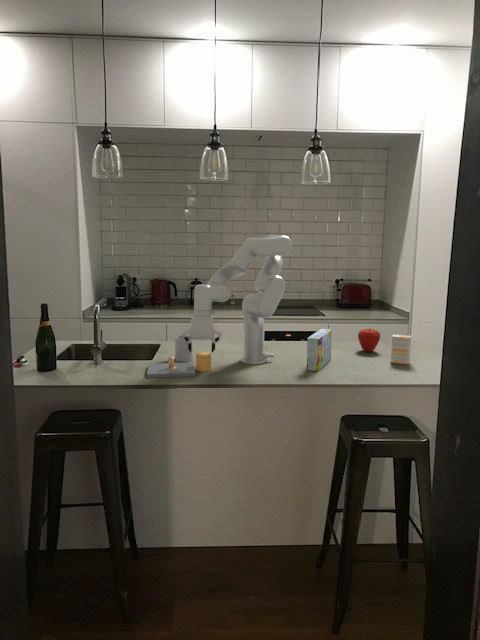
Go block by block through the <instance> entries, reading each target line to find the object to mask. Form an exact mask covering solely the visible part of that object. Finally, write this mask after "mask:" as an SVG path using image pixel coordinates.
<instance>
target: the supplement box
mask: <svg viewBox="0 0 480 640" xmlns="http://www.w3.org/2000/svg"><path fill="white" fill-rule="evenodd" d="M411 342H412V335H405V334H404V335H403V334H397V333H396V334H392V336H391V348H390V349H391V350H390V364H398V365H406V366H409V365H410V363H411V361H410V360H411V346H412V345H411V344H412V343H411Z"/></svg>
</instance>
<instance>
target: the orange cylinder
mask: <svg viewBox="0 0 480 640" xmlns="http://www.w3.org/2000/svg"><path fill="white" fill-rule="evenodd" d="M211 356H212V353H210V352H208V351H207V352H206V351H201V352H200V351H199V352H196V354H195V371H197V370H198V371H197V372H201V371H202V372H209V371H212V357H211Z"/></svg>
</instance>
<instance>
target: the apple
mask: <svg viewBox="0 0 480 640" xmlns="http://www.w3.org/2000/svg"><path fill="white" fill-rule="evenodd" d="M357 338H358V339H357V340H358V342H359V343H358V344H360V347H361V349H362V350H363V351H364V352H368V353H370V352H371V353H372V352H373V351H374V350H375V349H376V348H377V346H378V344H379V342H380V339H381V333H380V331H378V330H376V329H372V328H365V329H360V331H359V332H358V335H357Z"/></svg>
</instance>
